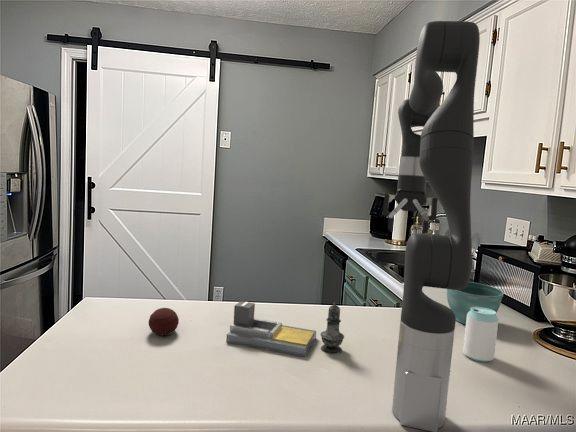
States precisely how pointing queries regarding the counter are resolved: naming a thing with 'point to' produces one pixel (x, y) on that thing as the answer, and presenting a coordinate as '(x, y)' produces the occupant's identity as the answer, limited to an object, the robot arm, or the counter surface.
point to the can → (480, 334)
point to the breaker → (244, 314)
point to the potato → (163, 321)
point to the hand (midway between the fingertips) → (407, 233)
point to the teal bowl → (473, 299)
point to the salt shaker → (332, 332)
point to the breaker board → (273, 337)
